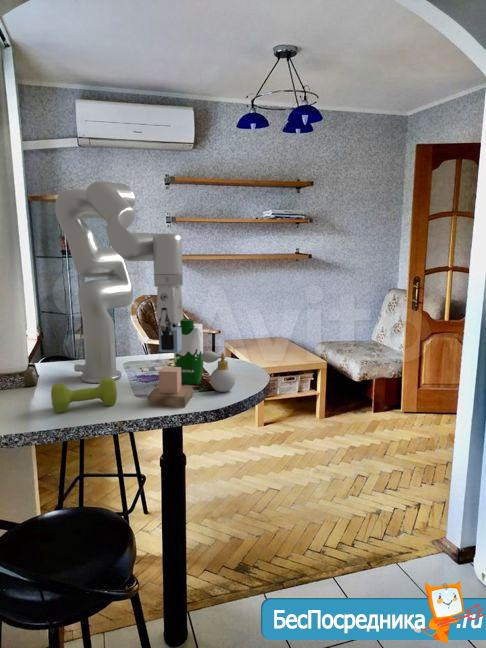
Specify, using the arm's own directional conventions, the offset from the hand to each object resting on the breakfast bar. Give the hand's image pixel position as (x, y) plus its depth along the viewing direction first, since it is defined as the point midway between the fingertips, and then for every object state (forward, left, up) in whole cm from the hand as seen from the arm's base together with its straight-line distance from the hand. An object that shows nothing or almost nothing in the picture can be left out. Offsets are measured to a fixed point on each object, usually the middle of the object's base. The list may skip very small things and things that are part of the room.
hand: (170, 346), depth 129 cm
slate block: (0, 0, -1) cm, 1 cm away
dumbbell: (-22, -7, -16) cm, 28 cm away
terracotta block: (0, 0, -12) cm, 12 cm away
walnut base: (0, 0, -15) cm, 15 cm away
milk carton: (+1, +19, -16) cm, 25 cm away
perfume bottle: (+12, +10, -16) cm, 22 cm away
